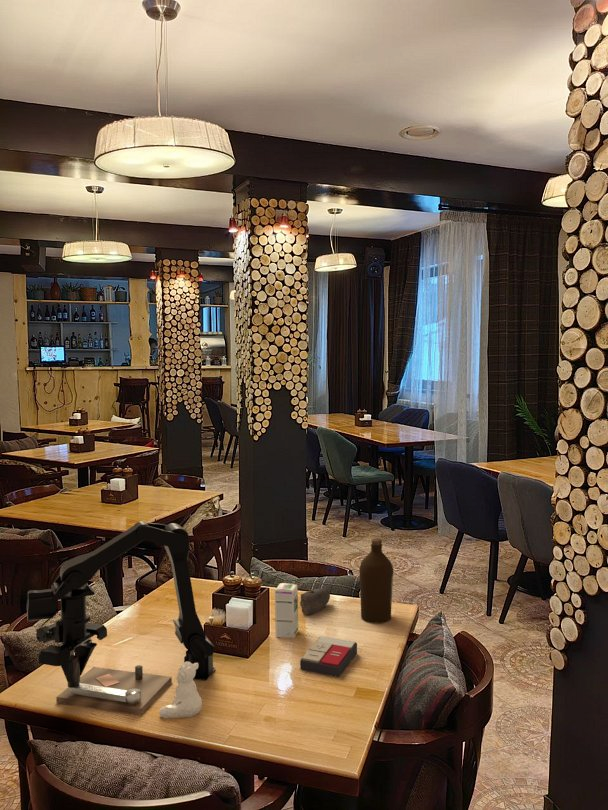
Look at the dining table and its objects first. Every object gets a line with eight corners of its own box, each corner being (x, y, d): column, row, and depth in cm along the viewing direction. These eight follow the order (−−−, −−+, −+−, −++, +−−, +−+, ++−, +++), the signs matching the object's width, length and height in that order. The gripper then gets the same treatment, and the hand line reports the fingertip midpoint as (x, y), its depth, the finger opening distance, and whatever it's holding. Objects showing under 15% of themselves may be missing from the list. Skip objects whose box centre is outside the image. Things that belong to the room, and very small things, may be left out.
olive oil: (365, 625, 204) (365, 545, 203) (354, 613, 214) (355, 536, 213) (397, 622, 206) (398, 543, 205) (386, 610, 217) (386, 534, 215)
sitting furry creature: (180, 698, 160) (179, 649, 159) (211, 705, 157) (211, 655, 156) (157, 717, 151) (156, 666, 151) (189, 725, 148) (189, 673, 147)
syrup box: (294, 638, 195) (294, 590, 194) (274, 637, 196) (274, 588, 195) (298, 631, 200) (298, 583, 199) (279, 629, 201) (279, 582, 200)
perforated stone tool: (323, 602, 225) (323, 581, 224) (336, 605, 221) (336, 585, 221) (295, 615, 213) (295, 593, 213) (307, 619, 210) (307, 597, 209)
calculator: (299, 657, 175) (320, 633, 188) (299, 673, 175) (320, 647, 189) (339, 665, 170) (357, 639, 184) (339, 681, 171) (357, 654, 185)
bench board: (171, 682, 168) (171, 665, 168) (141, 715, 152) (140, 696, 152) (93, 672, 173) (93, 655, 173) (56, 703, 158) (56, 684, 158)
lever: (144, 698, 156) (143, 666, 156) (136, 705, 153) (135, 673, 152) (73, 686, 162) (72, 656, 161) (64, 693, 158) (63, 663, 158)
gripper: (70, 597, 170) (71, 657, 171) (17, 624, 152) (18, 691, 153) (108, 603, 166) (108, 664, 167) (58, 630, 149) (59, 698, 150)
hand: (74, 678), depth 159 cm, fingers open, 3 cm apart
